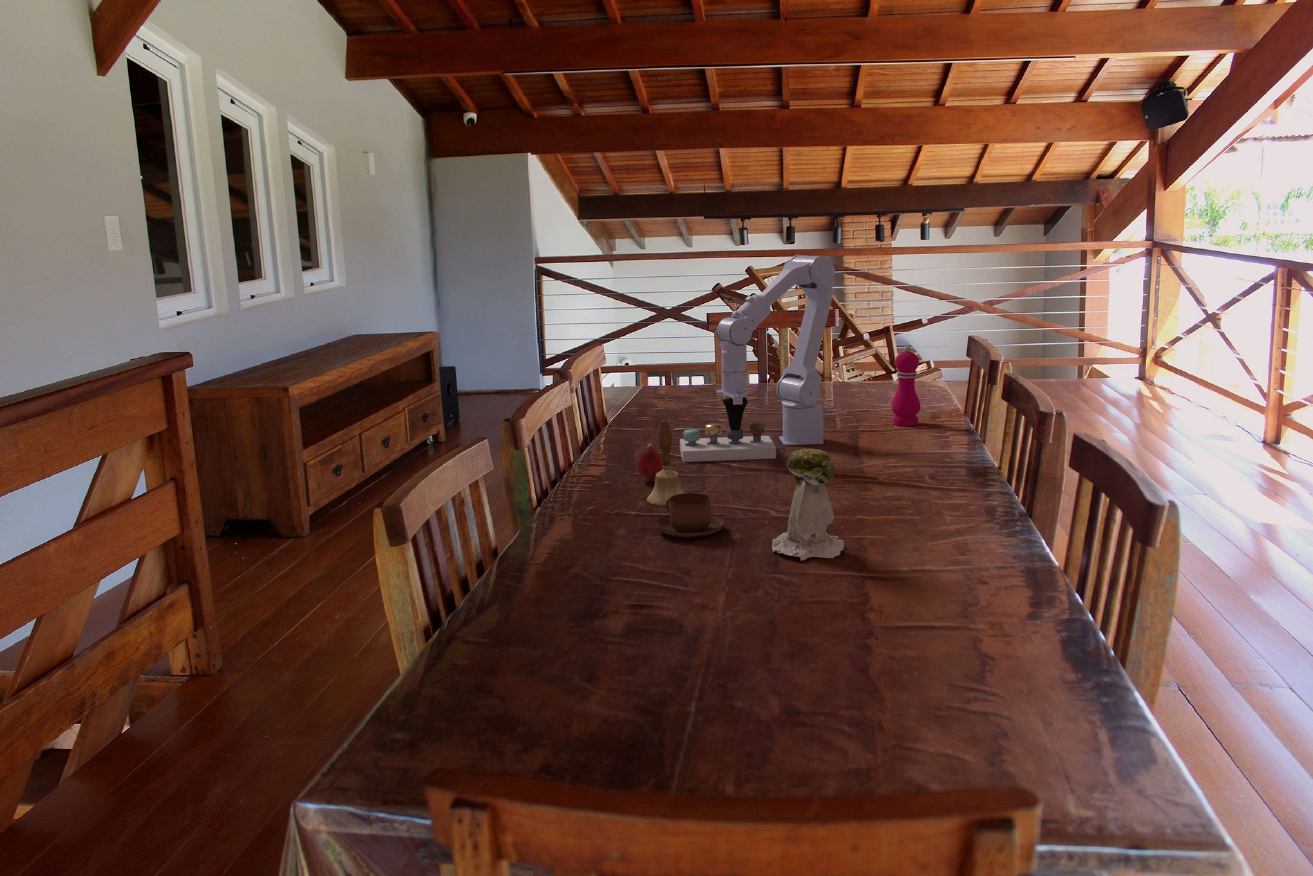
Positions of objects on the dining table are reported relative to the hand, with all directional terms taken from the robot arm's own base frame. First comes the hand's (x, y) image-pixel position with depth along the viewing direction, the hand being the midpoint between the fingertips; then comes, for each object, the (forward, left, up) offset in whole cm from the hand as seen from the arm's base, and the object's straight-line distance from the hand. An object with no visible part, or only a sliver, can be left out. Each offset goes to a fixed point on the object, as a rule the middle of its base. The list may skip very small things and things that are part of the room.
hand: (735, 429), depth 230 cm
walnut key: (-5, 0, -3) cm, 6 cm away
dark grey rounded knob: (0, 0, -4) cm, 4 cm away
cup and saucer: (+14, +55, -6) cm, 57 cm away
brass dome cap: (+5, 0, -3) cm, 6 cm away
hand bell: (+17, +35, -6) cm, 39 cm away
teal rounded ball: (+10, 0, -4) cm, 11 cm away
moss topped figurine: (-5, +67, -6) cm, 67 cm away
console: (+2, 0, -6) cm, 6 cm away
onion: (+20, +21, -6) cm, 30 cm away
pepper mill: (-46, -24, -6) cm, 52 cm away
